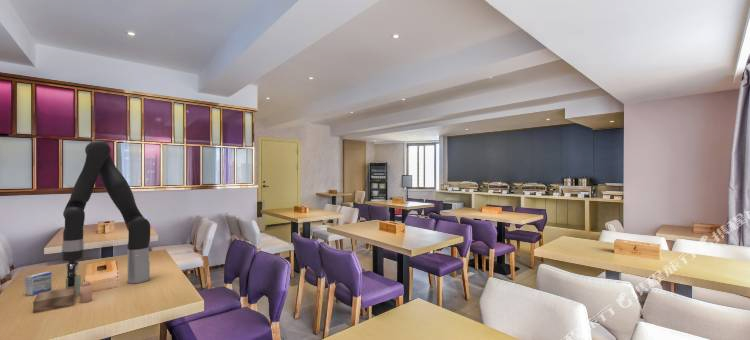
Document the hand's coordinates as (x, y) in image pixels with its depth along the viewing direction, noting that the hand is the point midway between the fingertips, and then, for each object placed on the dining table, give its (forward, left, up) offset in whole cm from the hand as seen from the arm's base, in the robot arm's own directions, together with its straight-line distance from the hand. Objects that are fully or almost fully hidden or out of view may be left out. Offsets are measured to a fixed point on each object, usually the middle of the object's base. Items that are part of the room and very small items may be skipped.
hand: (72, 283), depth 155 cm
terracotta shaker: (-6, +15, -5) cm, 17 cm away
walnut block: (+4, +12, -5) cm, 14 cm away
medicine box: (+12, -13, -5) cm, 19 cm away
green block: (-1, 0, -5) cm, 5 cm away
